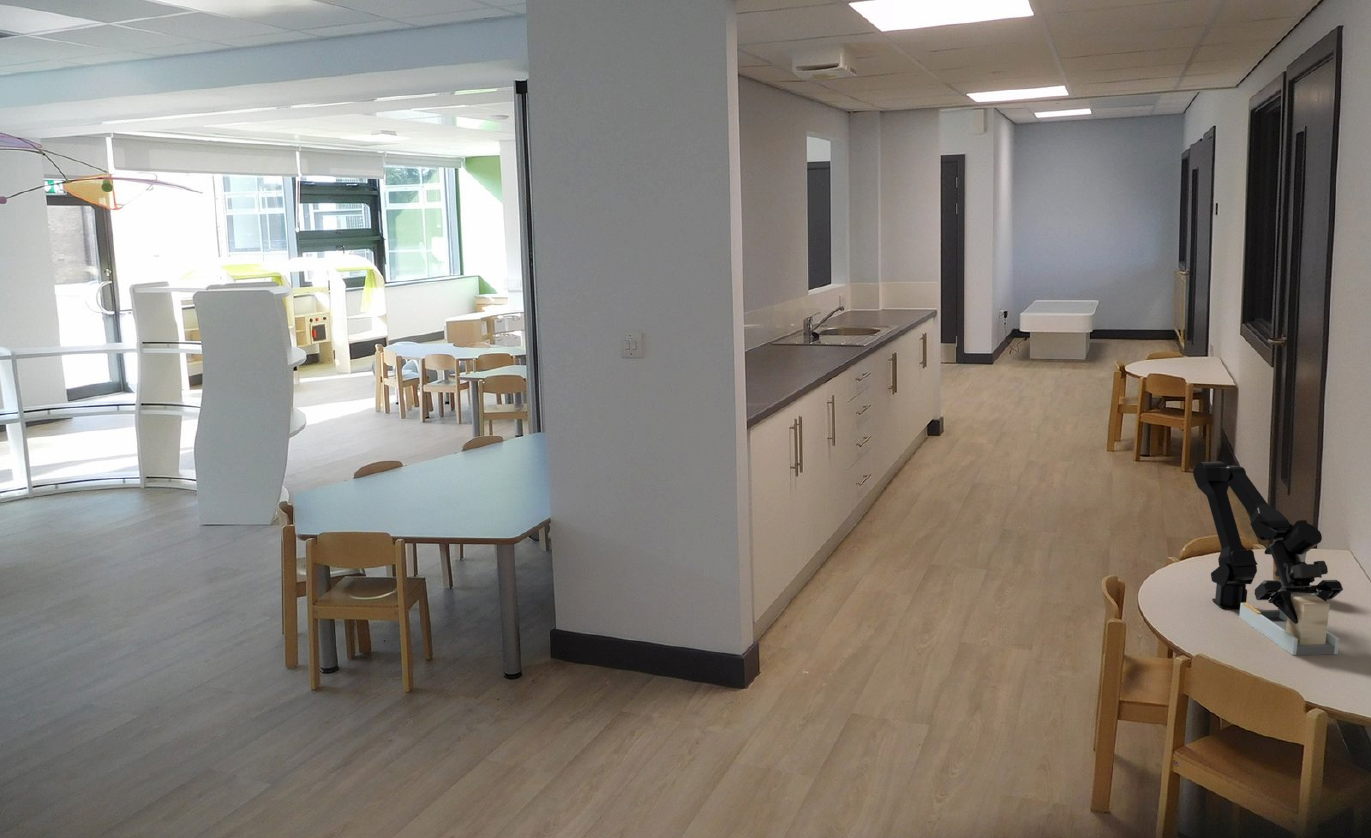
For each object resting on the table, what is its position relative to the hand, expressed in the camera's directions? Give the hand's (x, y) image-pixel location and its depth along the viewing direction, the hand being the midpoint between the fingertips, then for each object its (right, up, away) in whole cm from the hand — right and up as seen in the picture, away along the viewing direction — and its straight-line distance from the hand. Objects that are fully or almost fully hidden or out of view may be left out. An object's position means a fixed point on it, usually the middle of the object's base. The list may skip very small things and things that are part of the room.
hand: (1309, 623), depth 257 cm
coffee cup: (+17, +1, +41) cm, 44 cm away
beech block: (0, -4, +2) cm, 5 cm away
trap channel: (0, -5, +10) cm, 11 cm away
